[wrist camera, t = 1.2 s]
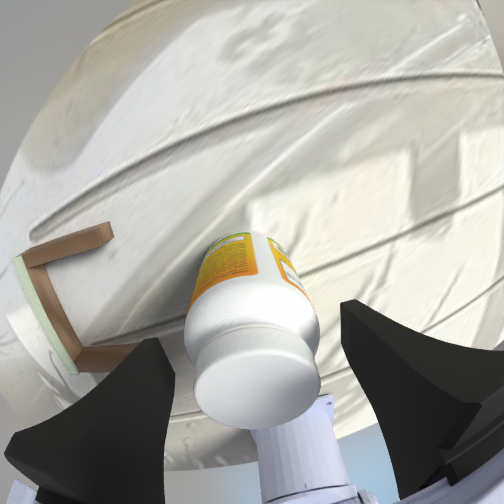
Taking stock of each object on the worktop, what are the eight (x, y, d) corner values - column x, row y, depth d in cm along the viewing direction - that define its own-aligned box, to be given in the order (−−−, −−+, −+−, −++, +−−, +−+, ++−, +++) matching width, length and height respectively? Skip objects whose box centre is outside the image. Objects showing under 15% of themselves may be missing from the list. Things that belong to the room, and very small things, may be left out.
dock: (160, 351, 18) (153, 372, 16) (80, 357, 18) (69, 374, 16) (109, 221, 15) (92, 231, 13) (29, 248, 15) (11, 259, 13)
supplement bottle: (193, 299, 17) (164, 427, 8) (212, 218, 15) (180, 309, 6) (274, 317, 18) (303, 443, 9) (301, 241, 16) (373, 343, 7)
